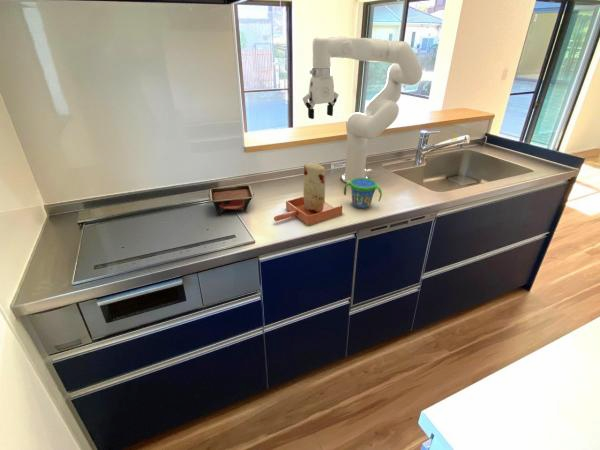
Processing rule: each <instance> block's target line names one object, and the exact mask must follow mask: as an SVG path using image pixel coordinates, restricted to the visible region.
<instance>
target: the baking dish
mask: <svg viewBox="0 0 600 450" xmlns="http://www.w3.org/2000/svg"><path fill="white" fill-rule="evenodd" d="M254 196H255V193H254V191H253V188H252V187H251V185H250V184H241V185H232V186H231V185H230V186H222V187H213V188H210V189H209V191H208V198H209V200H210V201H211V202H212V203H213V205H214V208H215V211H216V213H217V216H220V215H221V213H223V212H225V211H226V210H230V211H236V210H239V211H243V212H247V209H248V205H249V204H250V202H251V201H252V199H253V198H254Z"/></svg>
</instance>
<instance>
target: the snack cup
mask: <svg viewBox="0 0 600 450" xmlns="http://www.w3.org/2000/svg"><path fill="white" fill-rule="evenodd" d="M348 185H349V186H350V191H351V204H352V206H353V207H354V208H358V209H367V208H369V207H371V205H372V201H373V198H374V194H375V192H376V190H377V191H378V193H379V199H378V202H380V201H381V199H382V195H383V191H382V189H381V187H380V185H378V184H377V182H376V181H375V180H374V179H371V178H368V179H367V178H357V179H353V180H352V181H350V182H348V183H346V184H345V185H344V187H343V195H344V196H346V195H347V186H348Z"/></svg>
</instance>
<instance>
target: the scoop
mask: <svg viewBox="0 0 600 450" xmlns="http://www.w3.org/2000/svg"><path fill="white" fill-rule="evenodd" d="M285 209H286V210H287V211H288V212H285V213H282V214H278V215H275V216H274V217H273V221H274V222H279V221H282V220H286V219H289V218H292V217H297V219H300V220H301V221H302V222H303V223H305V224H306V225H307V226H312V225H315V224H318V223H320V222H324V221H326V220H329V219H333V218H336V217H339V216H341V215H343V204H341V205H338V206H335V207H332V206H331V205H330V204H327V203H326V202H324V207H323V210H322V212H319V213H313V212H310V211H309V210H307V209H306V208H305V206H304V195H303V196H299V197H294V198H292V199H288V200H286V201H285Z"/></svg>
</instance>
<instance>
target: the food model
mask: <svg viewBox="0 0 600 450" xmlns="http://www.w3.org/2000/svg"><path fill="white" fill-rule="evenodd" d="M303 196H304V206H305V208H306V209H307V210H309V211H310V212H313V213H319V212H322V210H323V207H324V203H325V199H326V198H325V197H326V170H325V166H322V165H321V164H320V163H317V162H310V163H306V164H303Z"/></svg>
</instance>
